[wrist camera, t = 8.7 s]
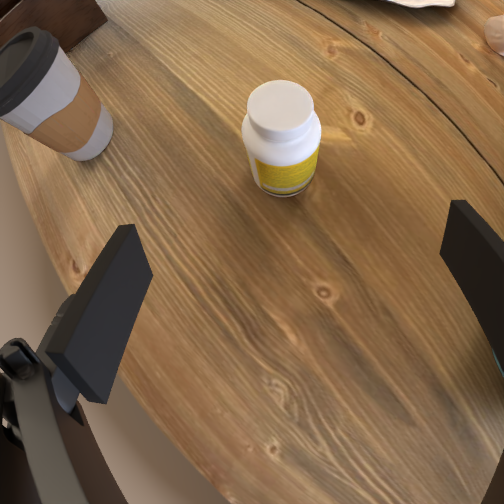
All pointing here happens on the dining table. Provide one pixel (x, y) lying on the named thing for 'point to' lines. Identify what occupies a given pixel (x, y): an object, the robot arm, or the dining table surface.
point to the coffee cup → (51, 97)
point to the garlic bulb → (495, 33)
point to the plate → (421, 3)
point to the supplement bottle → (281, 137)
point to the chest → (51, 19)
